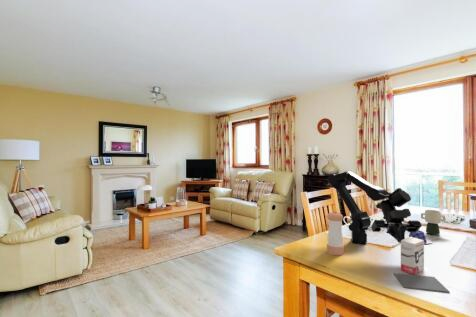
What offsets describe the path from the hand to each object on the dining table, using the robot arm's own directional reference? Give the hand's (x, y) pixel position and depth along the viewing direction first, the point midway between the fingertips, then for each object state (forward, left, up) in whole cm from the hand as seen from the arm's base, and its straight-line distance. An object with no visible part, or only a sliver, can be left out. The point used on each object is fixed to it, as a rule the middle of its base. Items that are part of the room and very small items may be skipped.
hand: (403, 244), depth 106 cm
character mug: (+30, +48, -8) cm, 58 cm away
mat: (0, -17, -8) cm, 19 cm away
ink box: (+1, -7, -8) cm, 10 cm away
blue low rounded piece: (+17, +33, -8) cm, 38 cm away
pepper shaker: (-26, +5, -8) cm, 28 cm away
